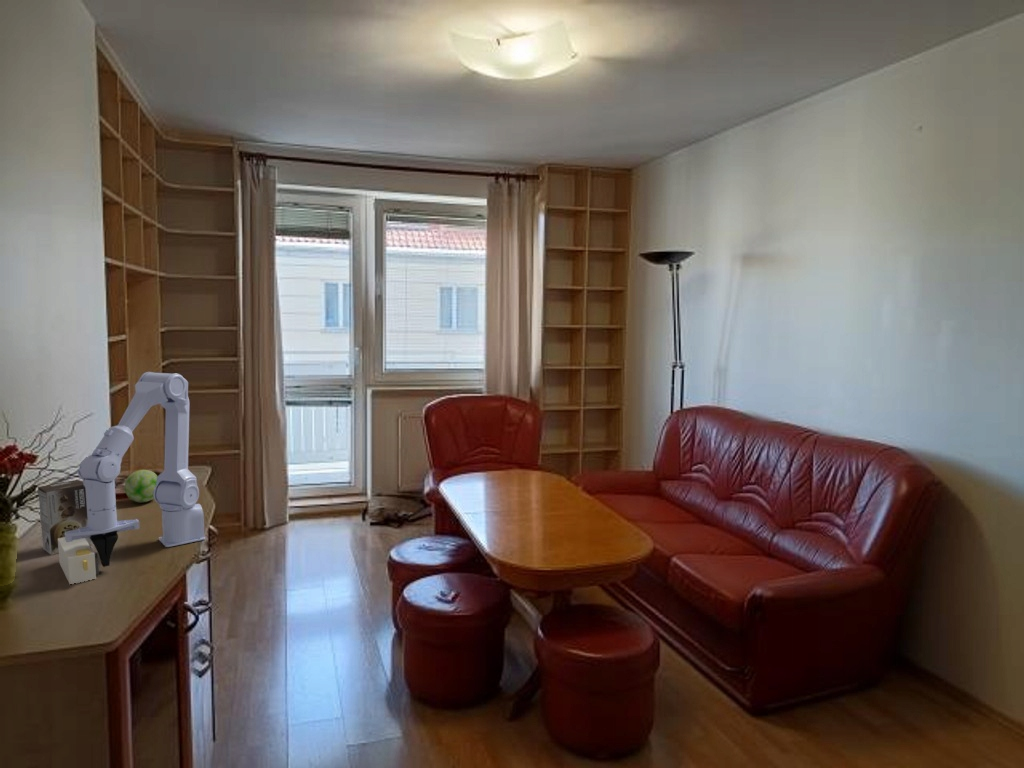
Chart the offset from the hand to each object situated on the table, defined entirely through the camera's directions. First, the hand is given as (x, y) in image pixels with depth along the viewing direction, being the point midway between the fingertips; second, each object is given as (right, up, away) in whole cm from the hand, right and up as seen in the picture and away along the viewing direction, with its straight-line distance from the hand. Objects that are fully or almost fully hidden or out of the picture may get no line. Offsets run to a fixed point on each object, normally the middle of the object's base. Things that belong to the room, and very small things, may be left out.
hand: (105, 565), depth 159 cm
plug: (-3, -2, -2) cm, 4 cm away
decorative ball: (-20, +5, +54) cm, 57 cm away
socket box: (-6, -1, 0) cm, 7 cm away
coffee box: (-18, 0, +15) cm, 24 cm away
